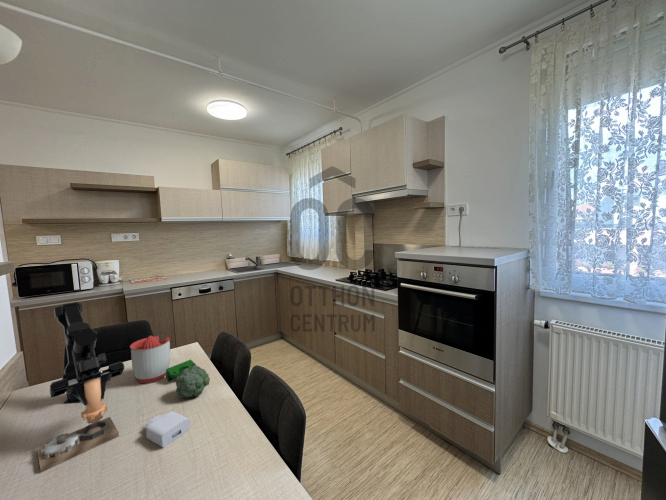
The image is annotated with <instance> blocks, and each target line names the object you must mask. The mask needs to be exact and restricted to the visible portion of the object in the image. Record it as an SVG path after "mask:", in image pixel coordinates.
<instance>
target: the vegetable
mask: <svg viewBox="0 0 666 500" xmlns="http://www.w3.org/2000/svg"><path fill="white" fill-rule="evenodd" d="M210 382H211V378H210V376H209V373H207V371H206V370H205V369H204V368H202V367H200V366H199V365H193V366H191V367H188V368H186V369H184V370H183V371H182V373H181V374H180V375H179V376H178V377H177V378H176V379H175V386H176V391H175V393H176V395H177V396H179V397H181V398H182V399H189V398H191V397H195V398H196V396H200V395H201V393H202V392H204V390H205V388H206V387H207V386H209V385H210Z"/></svg>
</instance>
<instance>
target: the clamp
mask: <svg viewBox="0 0 666 500" xmlns="http://www.w3.org/2000/svg"><path fill="white" fill-rule="evenodd" d="M193 365H196V363H195V362H194V360H192V359H188V360H185V361H183V362H181V363H178V364H176V365H173V366H171V367H170V366H169V368H168V369H166V376H165V379H166V380H167V381H168V382H171V381H173V380H176V378H177V377H178V376H179V375H180V374H181V373H182V371H183V370H184V369H186V368H188V367H191V366H193ZM196 366H197V365H196Z"/></svg>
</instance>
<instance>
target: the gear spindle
mask: <svg viewBox="0 0 666 500" xmlns="http://www.w3.org/2000/svg"><path fill="white" fill-rule="evenodd" d="M84 389H85V399H86V403H87V405H86V406H85V410H84V411H82V412H81V413H80V416H81V418H82V421H86V423H87V424H92V423H95V422H97V421H101V420H103V418H104V414H105V412H108V409H109V408H108V404H107V403H105V402H104V403H103V399H102V397H101V385H100V378H97V379H92V380H89V381H87V382H85V383H84ZM106 404H107V405H106Z"/></svg>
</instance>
